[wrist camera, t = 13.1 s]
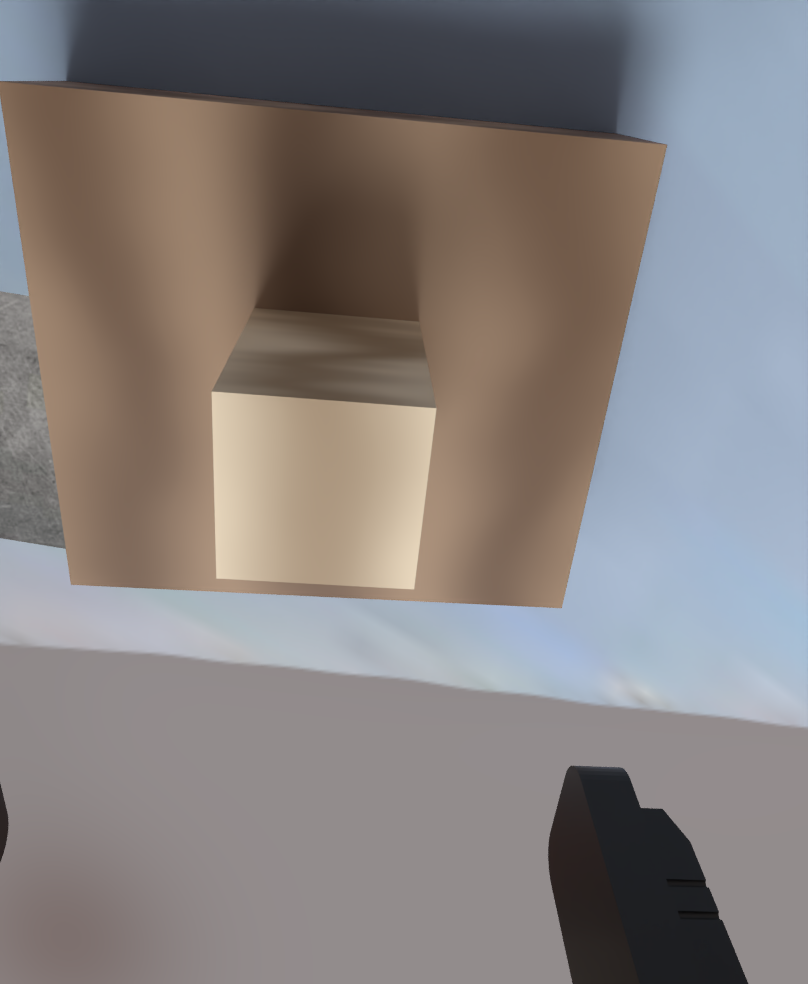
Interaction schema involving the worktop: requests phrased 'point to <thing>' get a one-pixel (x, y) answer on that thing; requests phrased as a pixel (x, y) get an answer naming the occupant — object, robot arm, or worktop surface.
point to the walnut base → (322, 311)
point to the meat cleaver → (24, 434)
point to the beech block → (322, 450)
